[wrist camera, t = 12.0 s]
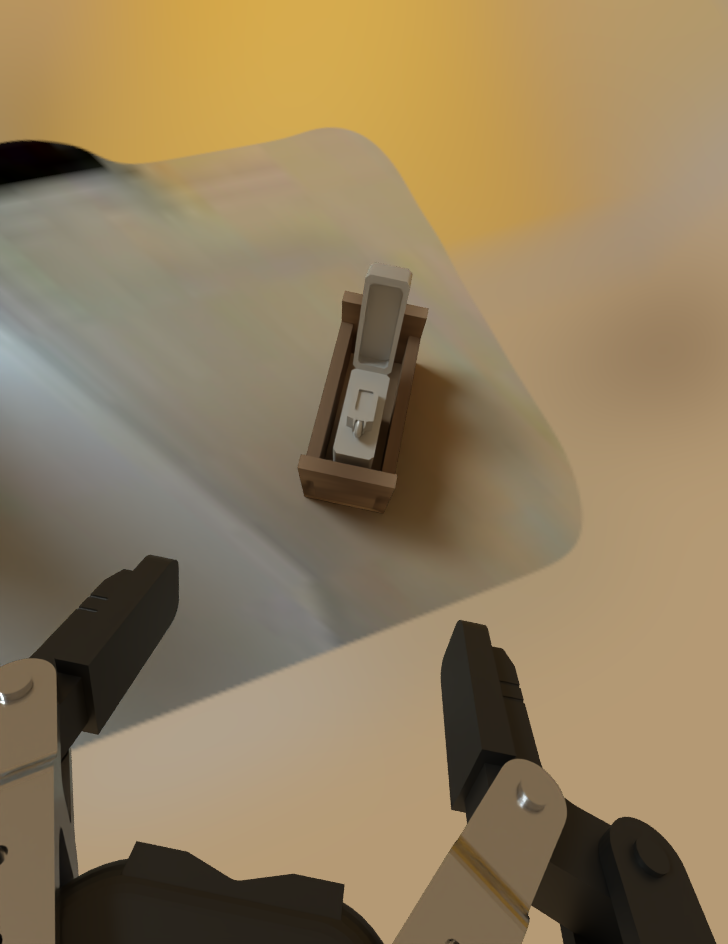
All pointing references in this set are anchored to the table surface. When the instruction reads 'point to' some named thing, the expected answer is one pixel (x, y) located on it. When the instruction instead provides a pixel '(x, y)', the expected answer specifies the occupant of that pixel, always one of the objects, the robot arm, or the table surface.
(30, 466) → the table surface
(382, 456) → the open wooden box
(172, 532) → the table surface
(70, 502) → the table surface
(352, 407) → the lighter
